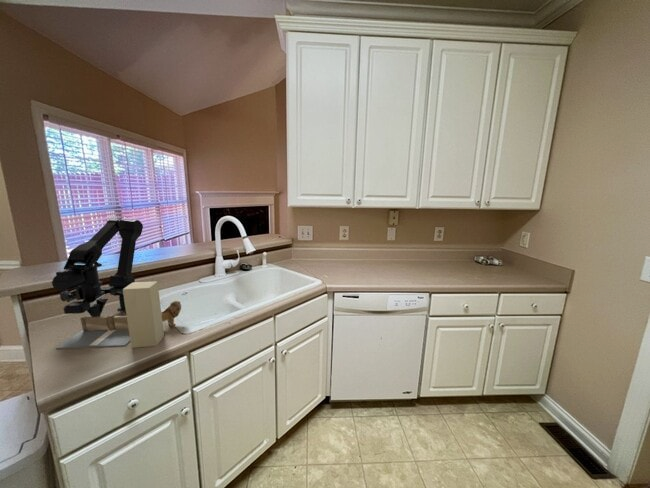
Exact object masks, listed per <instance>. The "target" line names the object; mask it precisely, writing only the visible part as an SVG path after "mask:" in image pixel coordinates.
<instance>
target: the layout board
mask: <svg viewBox="0 0 650 488" xmlns="http://www.w3.org/2000/svg"><path fill="white" fill-rule="evenodd" d="M129 343H131V341H130V335H129V330H113V331H110V329H108V330H87V331H83V329H81V331H79V332H78V333H76V334H75V335H73V336H72V337H70V338H68V339H67V340H66V341H64V342H63V343H62V344H60V345H58V346H57V347H56V350H58V349H81V348H82V349H83V348H84V349H85V348H87V349H88V348H108V347H126V346H127V345H128V344H129Z"/></svg>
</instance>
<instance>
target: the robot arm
mask: <svg viewBox="0 0 650 488" xmlns="http://www.w3.org/2000/svg"><path fill="white" fill-rule="evenodd" d="M143 228H144V224H143V223H142V221H140V220H138V219H108V220H107V221H106V223H105V224H104V225H103V226H102V227H101V228H100V229H99V230H98V231H97V232H96V233H95V234H94V235H93V236H91V238H90V239H89V240H88V241H86V242H83V243H81V244H79V245H77V246H75V248H73V249H72V250H71V251H70V252H69V254H68V258H67V260H66V262H65V264H64V266H63V270H59V271H55V274H56V275H55V276H54V277H53V278H52V281H51V284H52V287H53V289H54V290H56V291H58V292H60V293H59V296H60V297H59V298H60V300H61V301H62V302H66V303H68V304H67V305H65V306H64V307H63V313H64V315H65V314H67V315H69V314H71V315H72V314H74V315H75V314H83V313H85V312H87V313H88V314H89V315H90V317H101V314H102V313H103V310H104V307H105V305H106V303H107V301H108V298H104V296H105V295H107V294H109V295H110V296H115V297H117V296H118V300H119V307H117V309H116V310H117V311H126V309H125V302H124V296H123V289H124V288H125V287H127V286H128V285H130V284H131V283H133V282H136V279H135V277H134V275H133V273H132V270H133V263H134V256H135V248H136V242H137V240H139V238H140V237H141V235H142V232H143ZM116 234H119V235H120V238H121V245H120V250H119V257H118V264H117V265H118V266H117V271H116V272H115V274H114V275H110V277H109V282H108V286H101V285H104V282H103V281H100V276H99V271H98V268H100V267H102V266H103V264H102V263H100V262H98V261H99V259H100V258H101V256H102V255H103V249H104V248H105V246H106V245H107V244H108V243H109V242H110V241H111V240H112V239H113V238H114V237H115V236H116ZM72 289H73V290H72ZM69 290H70V291H69ZM74 300H76V301H74ZM71 301H72V302H71ZM70 302H71V303H70Z"/></svg>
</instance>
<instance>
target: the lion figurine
mask: <svg viewBox="0 0 650 488" xmlns="http://www.w3.org/2000/svg"><path fill="white" fill-rule="evenodd" d="M169 304H170V305H169V306H168V307H167V308H165V310H163V311H161V314H162V322H166V321H167V324H168V325H170V326H171V327H176V326H175V325H176V324H174V323H175V318H177V317H178V316H179V315H180V312H181V311H182V304H181V301H178V300H174V301H171V303H169Z"/></svg>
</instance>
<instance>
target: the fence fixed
mask: <svg viewBox="0 0 650 488" xmlns="http://www.w3.org/2000/svg"><path fill="white" fill-rule="evenodd" d="M107 319H108V324H109V329H110V331H113V330H129V328H128V322H127V315H115V314H110V315H107Z"/></svg>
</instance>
